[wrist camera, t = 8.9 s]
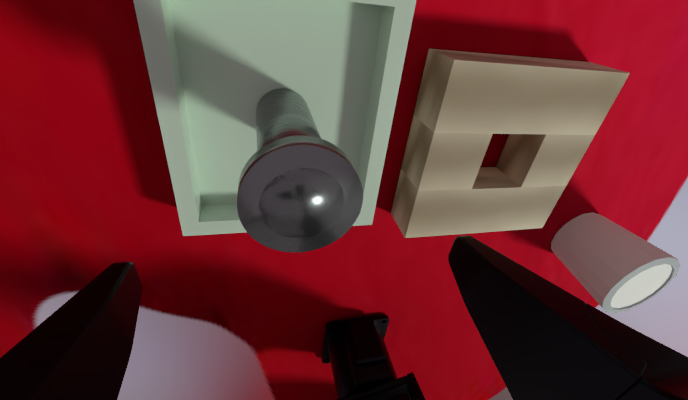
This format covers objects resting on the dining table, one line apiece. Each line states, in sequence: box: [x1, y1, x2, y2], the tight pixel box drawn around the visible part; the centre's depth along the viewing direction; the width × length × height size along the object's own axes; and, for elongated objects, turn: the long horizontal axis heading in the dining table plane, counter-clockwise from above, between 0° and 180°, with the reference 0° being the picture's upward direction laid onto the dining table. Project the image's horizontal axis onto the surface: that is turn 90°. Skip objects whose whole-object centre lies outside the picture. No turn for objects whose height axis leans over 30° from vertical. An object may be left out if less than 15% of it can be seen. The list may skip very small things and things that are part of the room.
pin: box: [237, 88, 363, 252], centre depth 15 cm, size 4×4×9 cm
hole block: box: [391, 49, 630, 238], centre depth 23 cm, size 12×12×3 cm
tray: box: [133, 0, 416, 236], centre depth 18 cm, size 14×12×2 cm
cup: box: [551, 212, 680, 313], centre depth 31 cm, size 7×7×7 cm
